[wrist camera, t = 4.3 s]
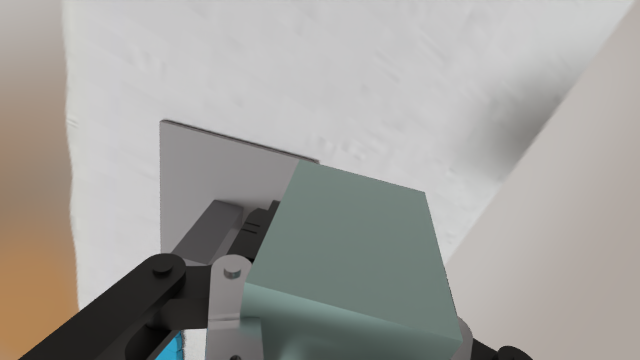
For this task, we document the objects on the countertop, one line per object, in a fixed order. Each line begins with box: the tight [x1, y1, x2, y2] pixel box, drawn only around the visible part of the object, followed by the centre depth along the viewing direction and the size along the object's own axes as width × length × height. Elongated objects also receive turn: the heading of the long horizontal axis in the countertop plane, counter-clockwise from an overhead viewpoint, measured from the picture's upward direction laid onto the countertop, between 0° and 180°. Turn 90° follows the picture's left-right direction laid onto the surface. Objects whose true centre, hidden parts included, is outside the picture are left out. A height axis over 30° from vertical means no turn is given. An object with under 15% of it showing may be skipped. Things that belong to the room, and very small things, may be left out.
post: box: [171, 200, 244, 266], centre depth 25 cm, size 3×3×7 cm
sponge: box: [155, 331, 183, 360], centre depth 38 cm, size 2×12×6 cm
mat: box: [160, 120, 313, 253], centre depth 28 cm, size 14×12×1 cm
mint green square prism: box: [239, 159, 463, 360], centre depth 12 cm, size 5×5×7 cm
